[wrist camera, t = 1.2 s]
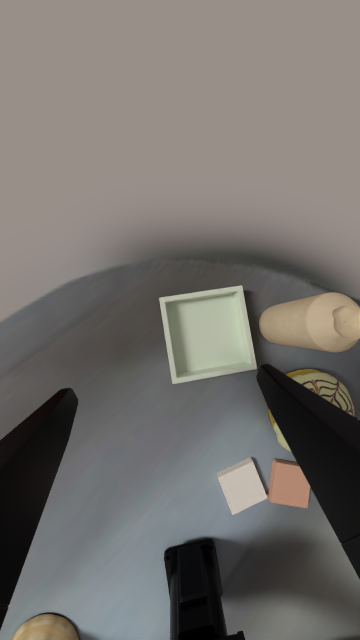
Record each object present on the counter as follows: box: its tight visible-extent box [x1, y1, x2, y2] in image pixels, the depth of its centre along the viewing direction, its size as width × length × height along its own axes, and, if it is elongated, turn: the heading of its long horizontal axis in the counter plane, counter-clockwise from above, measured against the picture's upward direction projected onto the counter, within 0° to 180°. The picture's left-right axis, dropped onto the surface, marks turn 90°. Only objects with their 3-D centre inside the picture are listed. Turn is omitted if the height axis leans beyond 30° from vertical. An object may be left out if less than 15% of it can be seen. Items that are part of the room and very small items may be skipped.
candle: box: [259, 293, 360, 352], centre depth 19 cm, size 6×6×10 cm
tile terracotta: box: [268, 459, 310, 508], centre depth 23 cm, size 5×5×1 cm
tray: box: [159, 286, 257, 384], centre depth 22 cm, size 11×11×2 cm
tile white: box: [217, 458, 267, 515], centre depth 23 cm, size 5×5×1 cm
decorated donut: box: [268, 369, 354, 451], centre depth 22 cm, size 10×11×4 cm
